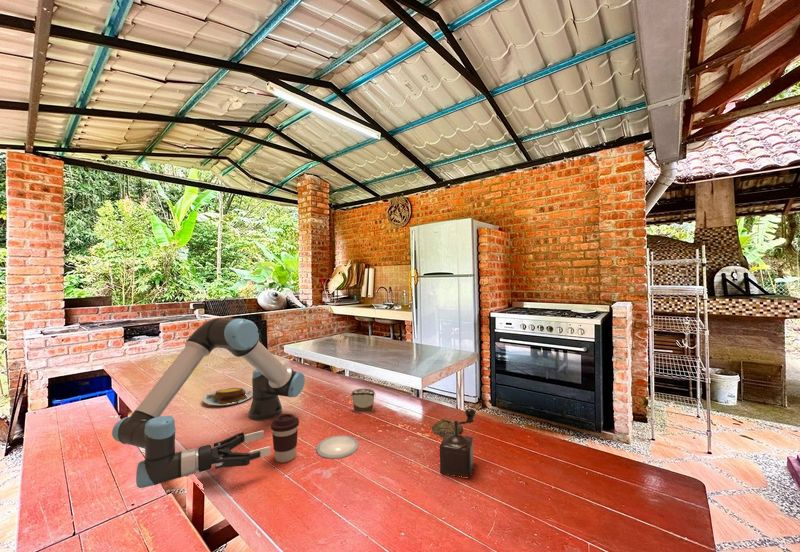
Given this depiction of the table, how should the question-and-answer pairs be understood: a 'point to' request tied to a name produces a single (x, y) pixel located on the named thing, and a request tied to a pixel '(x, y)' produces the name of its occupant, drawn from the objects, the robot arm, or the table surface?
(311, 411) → the table surface
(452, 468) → the manual coffee grinder
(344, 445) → the saucer
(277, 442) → the coffee cup
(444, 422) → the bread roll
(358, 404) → the food container
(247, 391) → the food on plate
